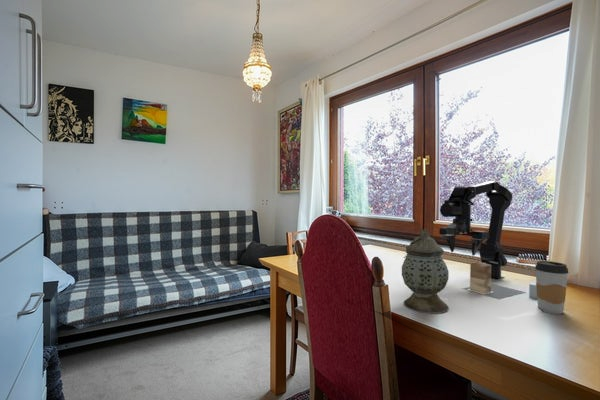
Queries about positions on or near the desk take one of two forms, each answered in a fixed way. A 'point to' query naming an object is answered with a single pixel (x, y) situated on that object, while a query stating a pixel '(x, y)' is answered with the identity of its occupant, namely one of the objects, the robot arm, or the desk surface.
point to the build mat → (499, 292)
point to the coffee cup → (551, 286)
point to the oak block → (480, 285)
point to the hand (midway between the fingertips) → (462, 253)
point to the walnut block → (480, 271)
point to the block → (532, 290)
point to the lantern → (425, 275)
